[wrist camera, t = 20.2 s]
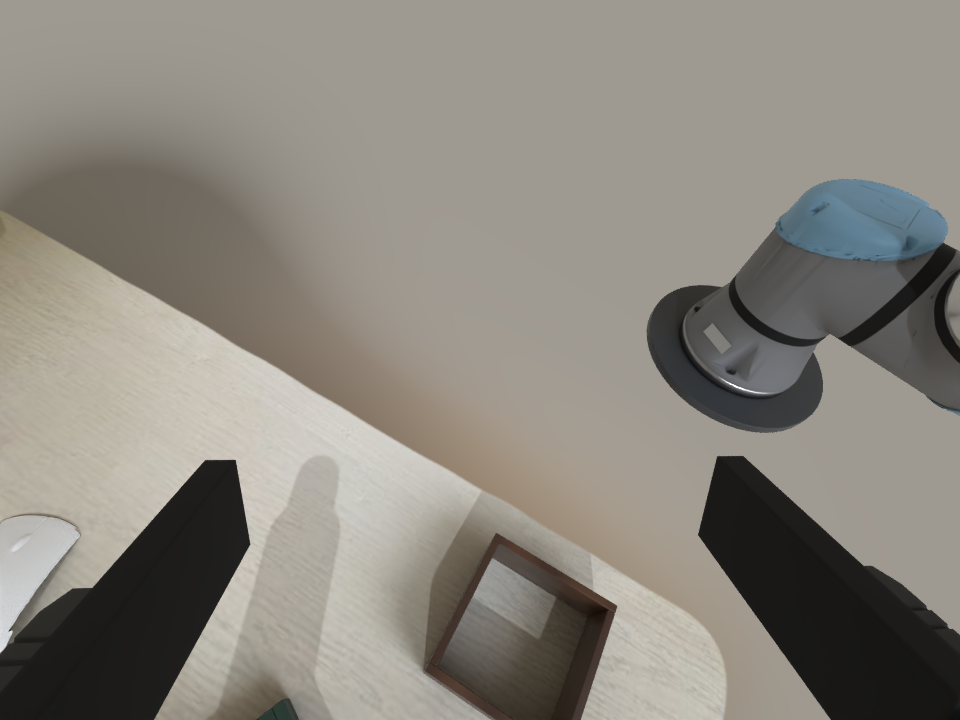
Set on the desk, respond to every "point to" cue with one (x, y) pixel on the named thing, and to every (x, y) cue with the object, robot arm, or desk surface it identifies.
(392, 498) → the desk surface
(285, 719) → the tray
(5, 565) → the computer mouse
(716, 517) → the robot arm
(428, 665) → the crate
